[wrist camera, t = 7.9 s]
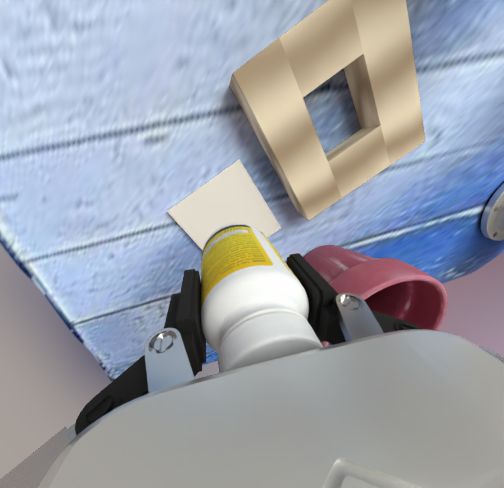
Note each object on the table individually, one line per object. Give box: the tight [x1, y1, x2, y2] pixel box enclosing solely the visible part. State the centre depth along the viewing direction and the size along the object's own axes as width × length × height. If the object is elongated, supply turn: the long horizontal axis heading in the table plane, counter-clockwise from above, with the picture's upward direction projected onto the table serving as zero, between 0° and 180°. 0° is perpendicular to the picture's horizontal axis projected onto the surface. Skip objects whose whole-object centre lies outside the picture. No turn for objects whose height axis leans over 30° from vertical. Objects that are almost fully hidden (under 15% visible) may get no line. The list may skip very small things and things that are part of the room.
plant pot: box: [304, 245, 448, 347], centre depth 25 cm, size 14×14×13 cm
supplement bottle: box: [201, 223, 323, 373], centre depth 11 cm, size 5×5×10 cm
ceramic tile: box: [167, 159, 281, 250], centre depth 24 cm, size 10×10×1 cm
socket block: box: [229, 0, 425, 220], centre depth 21 cm, size 16×16×3 cm
